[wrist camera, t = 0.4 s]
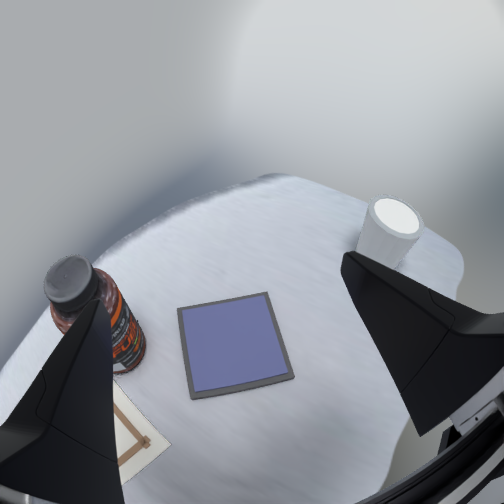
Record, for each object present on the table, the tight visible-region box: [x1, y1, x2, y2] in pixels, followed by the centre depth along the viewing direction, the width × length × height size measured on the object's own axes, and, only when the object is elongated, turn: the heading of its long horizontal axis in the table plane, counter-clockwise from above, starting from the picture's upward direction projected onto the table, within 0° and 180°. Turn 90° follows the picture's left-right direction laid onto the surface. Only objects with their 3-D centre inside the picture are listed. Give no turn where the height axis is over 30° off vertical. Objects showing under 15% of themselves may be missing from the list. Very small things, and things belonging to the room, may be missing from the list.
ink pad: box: [177, 292, 295, 400], centre depth 24 cm, size 9×9×1 cm
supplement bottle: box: [44, 255, 145, 373], centre depth 19 cm, size 6×6×11 cm
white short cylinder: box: [355, 195, 424, 270], centre depth 29 cm, size 7×7×7 cm
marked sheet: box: [113, 379, 172, 485], centre depth 18 cm, size 13×13×1 cm
